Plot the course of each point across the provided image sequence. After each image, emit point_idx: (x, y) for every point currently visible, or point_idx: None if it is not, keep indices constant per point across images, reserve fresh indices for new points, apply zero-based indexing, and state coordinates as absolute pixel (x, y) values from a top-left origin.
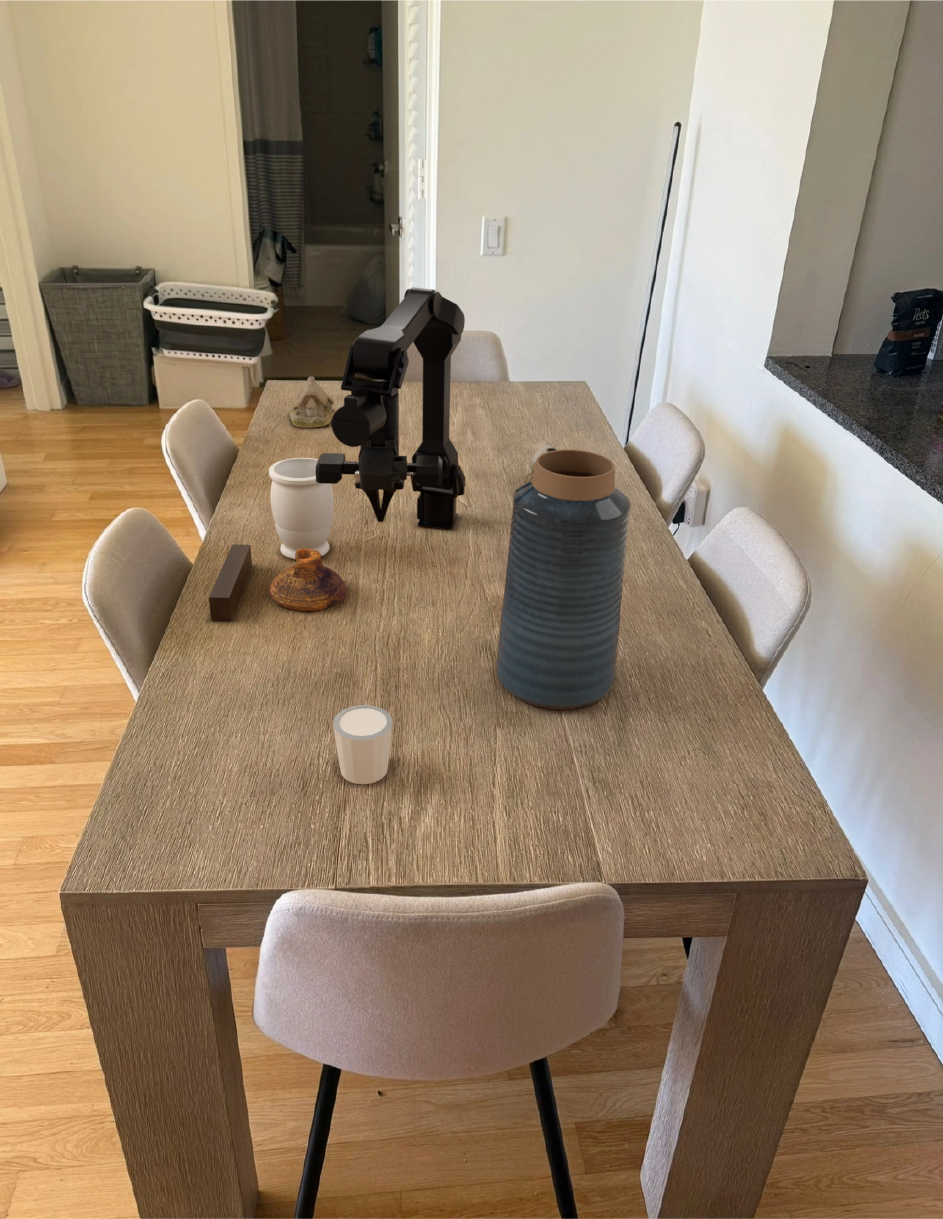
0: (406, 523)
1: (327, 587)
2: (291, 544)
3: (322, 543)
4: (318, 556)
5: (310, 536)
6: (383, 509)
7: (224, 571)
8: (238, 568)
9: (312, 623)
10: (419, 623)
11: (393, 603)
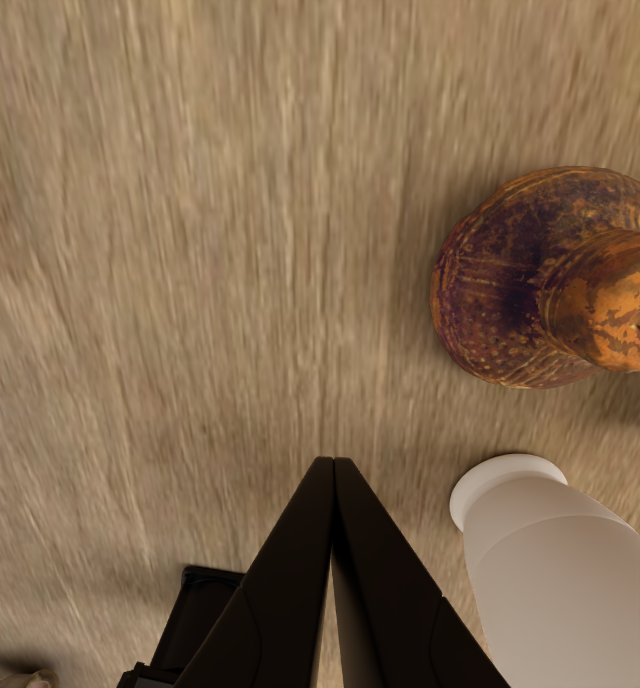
0: None
1: (515, 224)
2: (574, 488)
3: (482, 498)
4: (609, 301)
5: (541, 505)
6: (306, 533)
7: None
8: None
9: (547, 94)
10: (208, 99)
11: (294, 235)
